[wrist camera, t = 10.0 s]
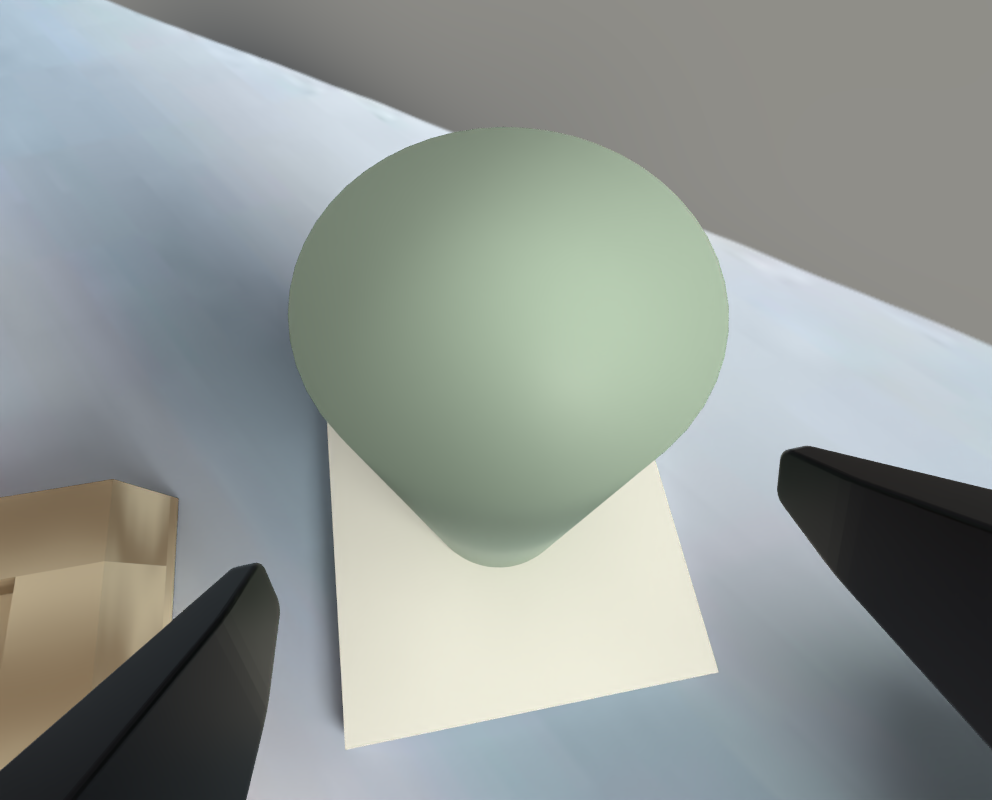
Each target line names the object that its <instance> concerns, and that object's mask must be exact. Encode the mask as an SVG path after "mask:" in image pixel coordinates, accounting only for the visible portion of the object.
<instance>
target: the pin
mask: <svg viewBox="0 0 992 800" xmlns="http://www.w3.org/2000/svg"><path fill="white" fill-rule="evenodd" d="M728 321H729V306H728V300H727V293H726V286H725V281H724V278H723V274H722V271H721V268H720V265H719V261H718V258H717V256H716V254H715V252H714V250H713V248H712V246H711V243H710V241H709V239H708V237H707V235H706V234H705V232H704V231H703V229H702V228H701V226H700V225H699V223H698V221H697V220H696V218H695V217H694V215H692V213H691V212H690V211H689V210H688V208H687V207H686V206H685V205H684V204H683V202H682V201H681V200H680V199H679V198H678V197H677V196H676V195H675V194H674V193H673V192H672V191H671V190H670V189H669V188H668V187H667V186H665V185H664V184H663V183H662V182H661V181H660V180H659V179H657V178H656V177H655V176H653V175H652V174H650V173H649V172H648V171H646V170H645V169H644V168H642V167H641V166H639V165H638V164H636V163H634V162H632V161H631V160H629V159H627V158H626V157H624V156H622V155H621V154H618V153H616V152H614V151H612V150H609V149H607V148H605V147H603V146H601V145H598V144H596V143H593V142H590V141H586V140H584V139H581V138H578V137H575V136H570V135H566V134H562V133H557V132H553V131H546V130H539V129H531V128H514V127H495V128H481V129H472V130H466V131H459V132H453V133H450V134H446V135H442V136H438V137H434V138H431V139H428V140H425V141H422V142H420V143H417V144H414V145H412V146H409V147H406V148H404V149H402V150H400V151H398V152H396V153H394V154H392V155H390V156H388V157H386V158H385V159H383V160H382V161H380V162H378V163H377V164H375V165H374V166H372V167H371V168H369V169H368V170H366V171H365V172H363V173H362V174H361V175H360V176H358V177H357V178H356V179H355V180H354V181H352V182H351V183H350V184H349V185H347V186H346V187H345V188H344V189H343V190H342V191H341V192H340V194H339V195H338V196H337V197H336V198H335V199H334V200H333V201H332V202H331V203H330V204H329V205H328V207H327V208H326V209H325V211H324V212H323V213H322V215H321V216H320V217H319V219H318V220H317V221H316V223H315V225H314V226H313V228H312V230H311V232H310V234H309V235H308V237H307V239H306V241H305V243H304V245H303V247H302V250H301V252H300V255H299V258H298V260H297V263H296V265H295V269H294V273H293V278H292V282H291V287H290V293H289V307H288V322H289V334H290V342H291V346H292V350H293V354H294V359H295V363H296V366H297V369H298V371H299V374H300V376H301V378H302V381H303V383H304V386H305V388H306V390H307V392H308V394H309V395H310V397H311V399H312V400H313V402H314V404H315V405H316V407H317V408H318V410H319V412H320V413H321V415H322V416H323V417H324V418H325V420H326V421H327V422H328V423H329V424H330V426H331V427H332V428H333V429H334V430H335V432H336V433H337V434H338V435H339V436H340V437H341V438H342V439H343V440H344V442H345V443H346V444H347V445H348V446H349V447H350V448H351V449H352V450H353V451H354V452H355V453H356V454H357V455H358V456H359V457H360V458H361V459H362V460H363V461H364V462H365V463H366V464H367V465H368V466H369V467H370V468H371V469H372V470H373V471H374V472H375V473H376V474H377V475H378V476H379V477H380V478H381V479H382V480H383V481H384V482H385V483H386V484H387V485H388V486H389V487H390V488H391V489H392V490H393V491H394V492H395V493H396V494H397V495H398V496H399V497H400V498H401V499H402V500H403V501H404V502H405V503H406V504H407V505H408V506H409V507H410V508H411V509H412V510H413V511H414V513H415V514H416V515H417V516H418V517H419V518H420V519H421V520H422V521H423V522H424V523H425V524H426V525H427V526H428V527H429V528H430V529H431V530H432V531H433V532H434V533H435V534H436V535H437V536H438V537H439V538H440V539H441V540H442V541H443V542H444V543H445V544H446V545H447V546H448V547H449V548H450V549H451V550H453V551H454V552H455V553H456V554H458V555H459V556H461V557H462V558H464V559H466V560H468V561H470V562H472V563H476V564H479V565H482V566H487V567H500V568H501V567H511V566H515V565H519V564H522V563H525V562H527V561H529V560H531V559H533V558H535V557H537V556H538V555H540V554H541V553H542V552H544V551H545V550H546V549H547V548H549V547H550V546H551V545H552V544H553V543H555V542H556V541H557V540H558V539H559V538H561V537H562V536H563V535H564V534H565V533H567V532H568V531H569V530H570V529H572V528H573V527H574V526H575V525H576V524H578V523H579V522H580V521H581V520H582V519H584V518H585V517H586V516H587V515H589V514H590V513H591V512H592V511H593V510H595V509H596V508H597V507H598V506H599V505H601V504H602V503H603V502H604V501H606V500H607V499H608V498H609V497H610V496H612V495H613V494H614V493H615V492H616V491H618V490H619V489H620V488H621V487H622V486H624V485H625V484H626V483H627V482H629V481H630V480H631V479H632V478H633V477H635V476H636V475H637V474H638V473H639V472H641V471H642V470H643V469H644V468H646V467H647V466H648V465H649V464H650V463H652V462H653V461H654V460H655V459H656V458H658V457H659V456H660V455H661V454H663V453H664V452H665V451H666V450H667V449H668V448H669V447H670V446H671V445H672V444H673V443H674V442H675V441H676V440H677V439H678V438H679V437H680V436H681V435H682V434H683V433H684V432H685V431H686V430H687V429H688V427H689V426H690V425H691V423H692V422H693V421H694V419H695V418H696V416H697V415H698V414H699V412H700V411H701V410H702V408H703V407H704V405H705V403H706V401H707V399H708V397H709V395H710V393H711V391H712V389H713V387H714V385H715V384H716V381H717V378H718V375H719V372H720V369H721V366H722V363H723V360H724V357H725V350H726V344H727V338H728Z"/></svg>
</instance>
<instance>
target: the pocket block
mask: <svg viewBox="0 0 992 800" xmlns="http://www.w3.org/2000/svg"><path fill="white" fill-rule="evenodd" d="M178 500H179V499H178V498H175V497H171V496H168V495H165V494H161V493H158V492H155V491H151V490H148V489H145V488H141V487H138V486H135V485H131V484H128V483H124V482H121V481H118V480H114V479H111V480H104V481H98V482H92V483H86V484H80V485H74V486H68V487H62V488H56V489H49V490H43V491H37V492H31V493H25V494H19V495H13V496H7V497H0V770H1V769H2V768H3V767H5V766H6V765H7V764H8V763H9V762H10V761H11V760H13V759H14V758H15V757H16V756H17V755H18V754H19V753H21V752H22V751H23V750H24V749H25V748H26V747H28V746H29V745H30V744H31V743H32V742H33V741H34V740H36V739H37V738H38V737H39V736H40V735H41V734H42V733H44V732H45V731H46V730H47V729H48V728H49V727H50V726H52V725H53V724H54V723H55V722H56V721H57V720H59V719H60V718H61V717H62V716H63V715H64V714H65V713H67V712H68V711H69V710H70V709H71V708H72V707H73V706H75V705H76V704H77V703H78V702H79V701H80V700H81V699H83V698H84V697H85V696H86V695H87V694H88V693H90V692H91V691H92V690H93V689H94V688H95V687H96V686H98V685H99V684H100V683H101V682H102V681H103V680H104V679H106V678H107V677H108V676H109V675H110V674H111V673H112V672H114V671H115V670H116V669H117V668H118V667H119V666H121V665H122V664H123V663H124V662H125V661H126V660H127V659H129V658H130V657H131V656H132V655H133V654H134V653H135V652H137V651H138V650H139V649H140V648H141V647H142V646H143V645H145V644H146V643H147V642H148V641H149V640H150V639H152V638H153V637H154V636H155V635H156V634H157V633H158V632H160V631H161V630H162V629H163V628H164V627H165V626H166V625H168V624H169V623H170V622H171V621H172V609H173V591H174V573H175V554H176V536H177V518H178Z"/></svg>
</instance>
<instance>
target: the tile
mask: <svg viewBox="0 0 992 800" xmlns="http://www.w3.org/2000/svg"><path fill="white" fill-rule="evenodd" d="M327 431H328V449H329V467H330V485H331V502H332V520H333V538H334V556H335V574H336V592H337V610H338V628H339V645H340V663H341V681H342V699H343V717H344V735H345V750H347V749H352V748H357V747H362V746H366V745H371V744H376V743H381V742H386V741H390V740H395V739H400V738H405V737H410V736H415V735H419V734H424V733H429V732H434V731H439V730H443V729H448V728H453V727H458V726H463V725H468V724H472V723H477V722H482V721H487V720H492V719H496V718H501V717H506V716H511V715H516V714H520V713H525V712H530V711H535V710H540V709H545V708H549V707H554V706H559V705H564V704H569V703H573V702H578V701H583V700H588V699H593V698H597V697H602V696H607V695H612V694H617V693H622V692H626V691H631V690H636V689H641V688H646V687H650V686H655V685H660V684H665V683H670V682H674V681H679V680H684V679H689V678H694V677H699V676H703V675H708V674H713V673H718V669H717V665H716V662H715V658H714V655H713V652H712V648H711V645H710V642H709V638H708V635H707V632H706V628H705V625H704V622H703V618H702V615H701V612H700V608H699V605H698V602H697V598H696V595H695V592H694V588H693V585H692V582H691V578H690V575H689V572H688V568H687V565H686V562H685V558H684V555H683V552H682V548H681V545H680V542H679V538H678V535H677V531H676V528H675V525H674V521H673V518H672V515H671V511H670V508H669V505H668V501H667V498H666V495H665V491H664V488H663V485H662V481H661V478H660V475H659V471H658V468H657V465H656V461H655V460H654V461H653V462H652V463H650V464H649V465H648V466H647V467H646V468H644V469H643V470H642V471H641V472H639V473H638V474H637V475H636V476H635V477H633V478H632V479H631V480H630V481H629V482H627V483H626V484H625V485H624V486H622V487H621V488H620V489H619V490H618V491H616V492H615V493H614V494H613V495H612V496H610V497H609V498H608V499H607V500H606V501H604V502H603V503H602V504H601V505H599V506H598V507H597V508H596V509H595V510H593V511H592V512H591V513H590V514H589V515H587V516H586V517H585V518H584V519H582V520H581V521H580V522H579V523H578V524H576V525H575V526H574V527H573V528H572V529H570V530H569V531H568V532H567V533H565V534H564V535H563V536H562V537H561V538H559V539H558V540H557V541H556V542H555V543H553V544H552V545H551V546H550V547H549V548H547V549H546V550H545V551H544V552H542V553H541V554H540V555H538V556H537V557H535V558H533V559H531V560H529V561H527V562H525V563H522V564H519V565H515V566H511V567H501V568H500V567H487V566H482V565H479V564H476V563H472V562H470V561H468V560H466V559H464V558H462V557H461V556H459V555H458V554H456V553H455V552H454V551H453V550H451V549H450V548H449V547H448V546H447V545H446V544H445V543H444V542H443V541H442V540H441V539H440V538H439V537H438V536H437V535H436V534H435V533H434V532H433V531H432V530H431V529H430V528H429V527H428V526H427V525H426V524H425V523H424V522H423V521H422V520H421V519H420V518H419V517H418V516H417V515H416V514H415V513H414V511H413V510H412V509H411V508H410V507H409V506H408V505H407V504H406V503H405V502H404V501H403V500H402V499H401V498H400V497H399V496H398V495H397V494H396V493H395V492H394V491H393V490H392V489H391V488H390V487H389V486H388V485H387V484H386V483H385V482H384V481H383V480H382V479H381V478H380V477H379V476H378V475H377V474H376V473H375V472H374V471H373V470H372V469H371V468H370V467H369V466H368V465H367V464H366V463H365V462H364V461H363V460H362V459H361V458H360V457H359V456H358V455H357V454H356V453H355V452H354V451H353V450H352V449H351V448H350V447H349V446H348V445H347V444H346V443H345V442H344V440H343V439H342V438H341V437H340V436H339V435H338V434H337V433H336V432H335V430H334V429H333V428H332V427H331V426H330V424H329V423H328V422H327Z"/></svg>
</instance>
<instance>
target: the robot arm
mask: <svg viewBox="0 0 992 800" xmlns="http://www.w3.org/2000/svg"><path fill="white" fill-rule="evenodd" d="M777 492H778V496H779V499H780V501H781V503H782V505H783V506H784V507H785V509H786V510H787V511H788V513H789V514H790V515H791V517H792V518H793V520H794V521H795V522H796V524H797V525H798V526H799V528H800V529H801V530H802V532H803V533H804V534H805V536H806V537H807V538H808V540H809V541H810V542H811V544H812V545H813V546H814V548H815V549H816V550H817V552H818V553H819V555H820V556H821V557H822V559H823V560H824V561H825V563H826V564H827V565H828V566H829V568H830V569H831V570H832V572H833V573H834V574H835V575H836V576H837V578H838V579H839V580H840V581H841V582H842V583H843V585H844V586H845V587H846V588H847V589H848V590H849V591H850V593H851V594H852V595H853V596H854V597H855V598H856V599H857V600H858V601H859V603H860V604H861V605H862V606H863V607H864V608H865V609H866V610H867V611H868V613H869V614H870V615H871V616H872V617H873V618H874V619H875V620H876V621H877V623H878V624H879V625H880V626H881V627H882V628H883V629H884V630H885V632H886V633H887V634H888V635H889V636H890V637H891V638H892V639H893V640H894V642H895V643H896V644H897V645H898V646H899V647H900V648H901V649H902V650H903V652H904V653H905V654H906V655H907V656H908V657H909V658H910V659H911V660H912V662H913V663H914V664H915V665H916V666H917V667H918V668H919V669H920V670H921V672H922V673H923V674H924V675H925V676H926V677H927V678H928V679H929V680H930V682H931V683H932V684H933V685H934V686H935V687H936V688H937V689H938V690H939V692H940V693H941V694H942V695H943V696H944V697H945V698H946V699H947V701H948V702H949V703H950V704H951V705H952V706H953V707H954V708H955V709H956V711H957V712H958V713H959V714H960V715H961V716H962V717H963V718H964V719H965V721H966V722H967V723H968V724H969V725H970V726H971V727H972V728H973V729H974V731H975V732H976V733H977V734H978V735H979V736H980V737H981V738H982V739H983V741H984V742H985V743H986V744H987V745H988V746H989V747H990V748H991V749H992V490H991V489H986V488H982V487H978V486H974V485H970V484H966V483H961V482H957V481H953V480H949V479H945V478H941V477H936V476H932V475H928V474H924V473H920V472H916V471H912V470H907V469H903V468H899V467H895V466H891V465H887V464H882V463H878V462H874V461H870V460H866V459H862V458H857V457H853V456H849V455H845V454H841V453H837V452H833V451H828V450H824V449H820V448H816V447H812V446H802V447H797V448H793V449H788V450H786V451H784V452H783V453H782V455H781V458H780V467H779V476H778V486H777ZM279 616H280V607H279V602H278V598H277V596H276V594H275V591H274V589H273V587H272V584H271V582H270V580H269V577H268V575H267V573H266V570H265V569H264V567H263V566H262V565H261V564H259V563H253V564H248V565H243V566H238V567H235V568H232V569H231V570H230V571H228V572H227V573H226V574H225V575H224V576H223V577H222V578H220V579H219V580H218V581H217V582H216V583H215V584H214V585H212V586H211V587H210V588H209V589H208V590H207V591H206V592H204V593H203V594H202V595H201V596H200V597H199V598H197V599H196V600H195V601H194V602H193V603H192V604H191V605H189V606H188V607H187V608H186V609H185V610H184V611H183V612H181V613H180V614H179V615H178V616H177V617H176V618H175V619H173V620H172V621H171V622H170V623H169V624H168V625H166V626H165V627H164V628H163V629H162V630H161V631H160V632H158V633H157V634H156V635H155V636H154V637H153V638H152V639H150V640H149V641H148V642H147V643H146V644H145V645H143V646H142V647H141V648H140V649H139V650H138V651H137V652H135V653H134V654H133V655H132V656H131V657H130V658H129V659H127V660H126V661H125V662H124V663H123V664H122V665H121V666H119V667H118V668H117V669H116V670H115V671H114V672H112V673H111V674H110V675H109V676H108V677H107V678H106V679H104V680H103V681H102V682H101V683H100V684H99V685H98V686H96V687H95V688H94V689H93V690H92V691H91V692H90V693H88V694H87V695H86V696H85V697H84V698H83V699H81V700H80V701H79V702H78V703H77V704H76V705H75V706H73V707H72V708H71V709H70V710H69V711H68V712H67V713H65V714H64V715H63V716H62V717H61V718H60V719H59V720H57V721H56V722H55V723H54V724H53V725H52V726H50V727H49V728H48V729H47V730H46V731H45V732H44V733H42V734H41V735H40V736H39V737H38V738H37V739H36V740H34V741H33V742H32V743H31V744H30V745H29V746H28V747H26V748H25V749H24V750H23V751H22V752H21V753H19V754H18V755H17V756H16V757H15V758H14V759H13V760H11V761H10V762H9V763H8V764H7V765H6V766H5V767H3V768H2V769H1V770H0V800H246V798H247V794H248V790H249V786H250V781H251V777H252V773H253V769H254V765H255V760H256V756H257V752H258V748H259V744H260V739H261V735H262V731H263V727H264V722H265V717H266V713H267V707H268V701H269V694H270V687H271V679H272V671H273V663H274V655H275V647H276V640H277V632H278V624H279Z"/></svg>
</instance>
